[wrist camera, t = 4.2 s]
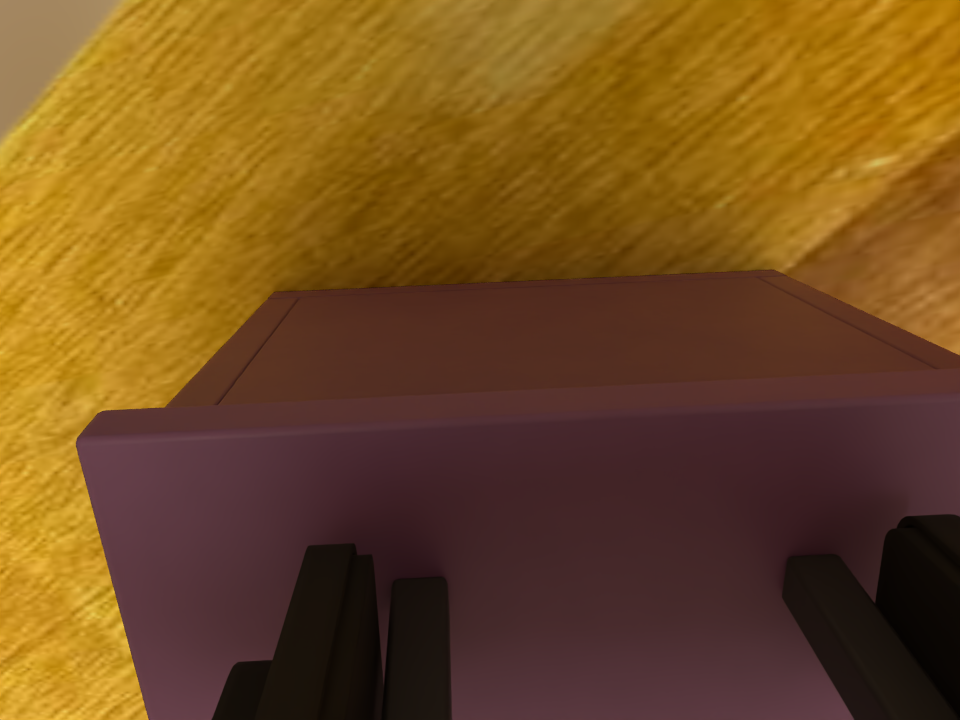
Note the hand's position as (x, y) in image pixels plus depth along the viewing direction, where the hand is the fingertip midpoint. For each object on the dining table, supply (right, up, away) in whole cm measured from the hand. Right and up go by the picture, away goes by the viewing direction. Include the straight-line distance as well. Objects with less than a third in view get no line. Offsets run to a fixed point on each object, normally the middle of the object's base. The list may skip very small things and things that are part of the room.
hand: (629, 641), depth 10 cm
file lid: (0, -4, +4) cm, 6 cm away
